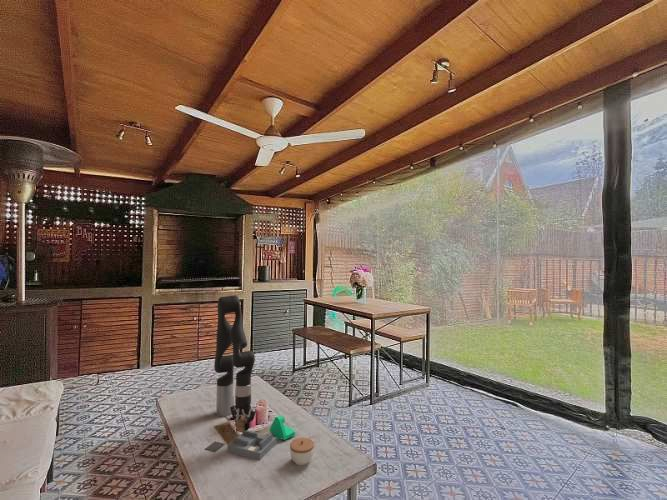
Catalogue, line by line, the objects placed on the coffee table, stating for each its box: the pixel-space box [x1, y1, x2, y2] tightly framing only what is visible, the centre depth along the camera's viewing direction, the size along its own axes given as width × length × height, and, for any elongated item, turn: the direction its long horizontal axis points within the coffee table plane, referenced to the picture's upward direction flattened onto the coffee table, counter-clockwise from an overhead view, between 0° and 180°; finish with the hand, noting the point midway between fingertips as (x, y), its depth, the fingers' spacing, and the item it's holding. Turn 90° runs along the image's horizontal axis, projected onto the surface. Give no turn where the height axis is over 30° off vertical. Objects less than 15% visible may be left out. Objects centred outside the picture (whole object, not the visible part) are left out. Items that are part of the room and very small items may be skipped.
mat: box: [204, 441, 226, 453], centre depth 159 cm, size 7×6×1 cm
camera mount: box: [269, 414, 296, 441], centre depth 171 cm, size 12×8×10 cm, turn 47°
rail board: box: [226, 429, 277, 460], centre depth 159 cm, size 14×18×6 cm
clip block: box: [235, 416, 245, 434], centre depth 161 cm, size 5×4×4 cm
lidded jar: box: [289, 437, 315, 467], centre depth 148 cm, size 11×11×9 cm
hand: (242, 428), depth 161 cm, fingers closed on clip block, 4 cm apart
